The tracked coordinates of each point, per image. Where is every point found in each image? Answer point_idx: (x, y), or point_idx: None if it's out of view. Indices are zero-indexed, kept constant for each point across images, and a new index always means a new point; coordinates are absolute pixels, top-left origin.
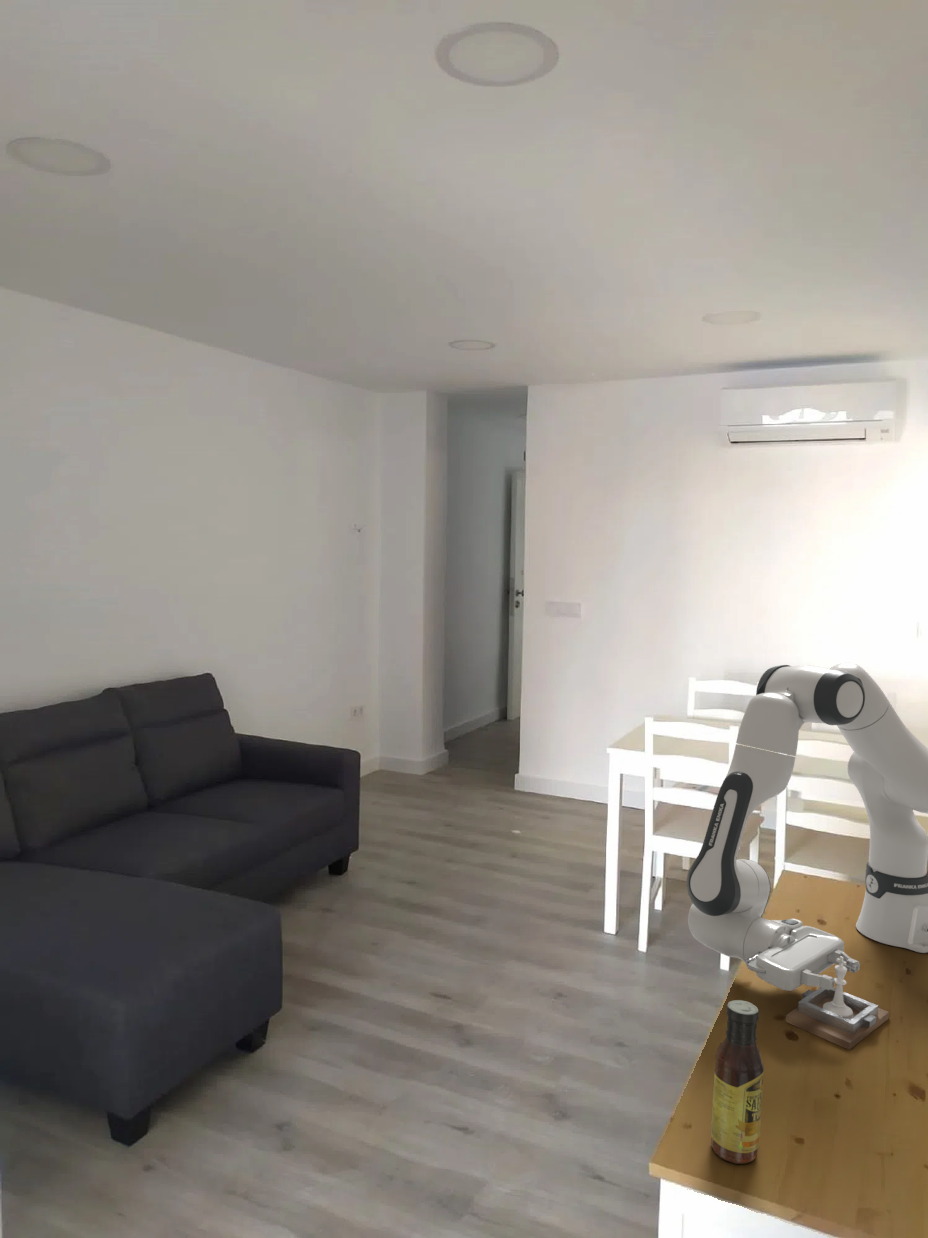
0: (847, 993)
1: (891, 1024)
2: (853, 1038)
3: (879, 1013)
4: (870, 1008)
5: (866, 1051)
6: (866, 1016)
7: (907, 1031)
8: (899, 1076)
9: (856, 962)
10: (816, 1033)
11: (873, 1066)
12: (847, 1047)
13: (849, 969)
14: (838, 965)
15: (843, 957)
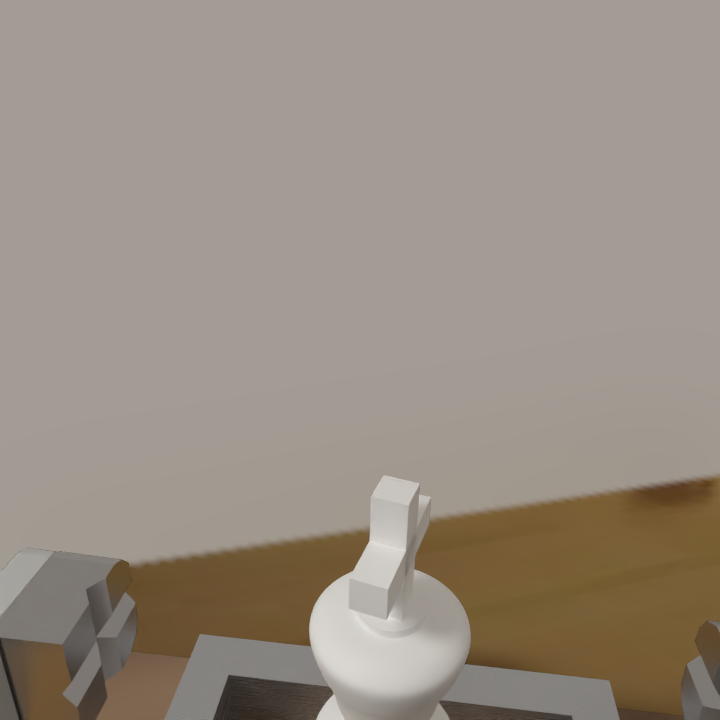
0: None
1: (181, 655)
2: (632, 714)
3: (164, 685)
4: (282, 657)
5: (596, 676)
6: None
7: (216, 586)
8: (641, 535)
9: (70, 555)
10: None
11: (689, 617)
12: None
13: (101, 680)
14: (391, 627)
15: (384, 477)
